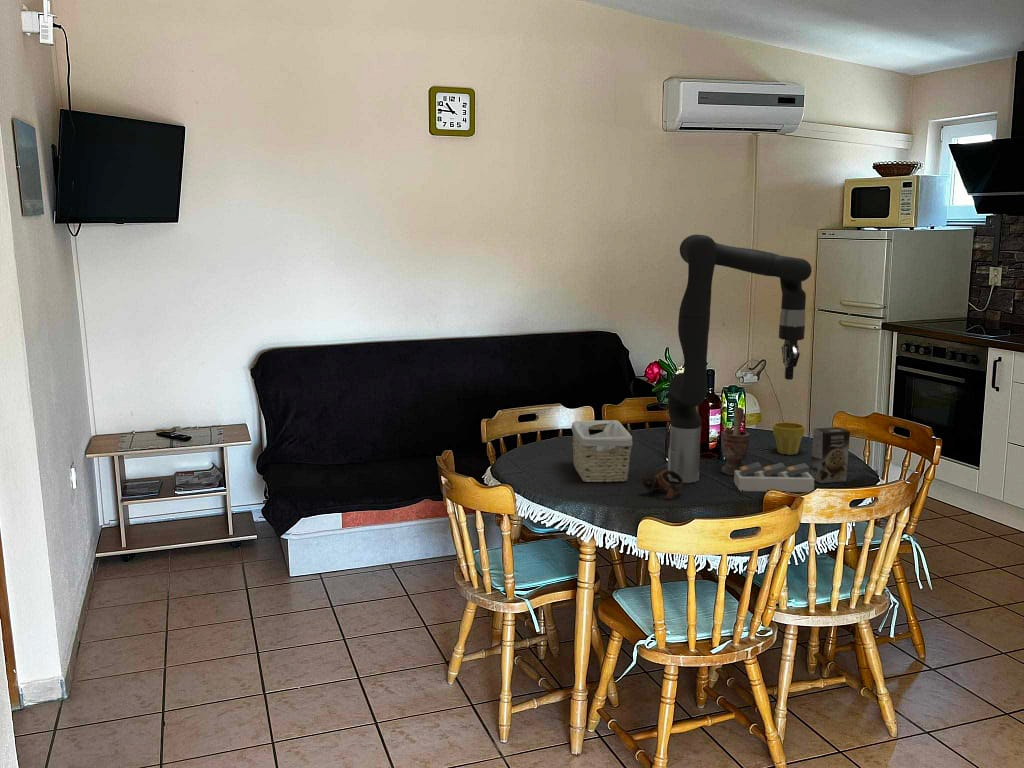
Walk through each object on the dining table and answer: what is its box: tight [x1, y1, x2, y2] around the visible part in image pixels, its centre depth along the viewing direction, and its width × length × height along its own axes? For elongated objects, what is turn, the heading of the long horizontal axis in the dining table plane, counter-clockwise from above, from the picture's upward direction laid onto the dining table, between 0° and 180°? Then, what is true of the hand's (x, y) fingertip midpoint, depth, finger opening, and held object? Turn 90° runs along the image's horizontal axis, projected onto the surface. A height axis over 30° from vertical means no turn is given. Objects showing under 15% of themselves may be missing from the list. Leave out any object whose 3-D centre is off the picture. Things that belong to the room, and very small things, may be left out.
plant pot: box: [772, 421, 806, 456], centre depth 315 cm, size 10×10×10 cm
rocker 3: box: [785, 462, 811, 476], centre depth 276 cm, size 6×4×2 cm
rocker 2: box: [762, 462, 787, 476], centre depth 277 cm, size 6×4×2 cm
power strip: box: [733, 470, 815, 493], centre depth 277 cm, size 22×8×5 cm, turn 87°
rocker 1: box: [739, 461, 763, 476], centre depth 277 cm, size 6×4×2 cm
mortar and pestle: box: [720, 407, 750, 476], centre depth 293 cm, size 12×9×20 cm
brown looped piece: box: [641, 469, 684, 500], centre depth 270 cm, size 12×10×8 cm
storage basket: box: [571, 419, 633, 483], centre depth 291 cm, size 24×16×15 cm
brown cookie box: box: [809, 426, 851, 484], centre depth 284 cm, size 9×6×16 cm
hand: (788, 379), depth 284 cm, fingers closed
